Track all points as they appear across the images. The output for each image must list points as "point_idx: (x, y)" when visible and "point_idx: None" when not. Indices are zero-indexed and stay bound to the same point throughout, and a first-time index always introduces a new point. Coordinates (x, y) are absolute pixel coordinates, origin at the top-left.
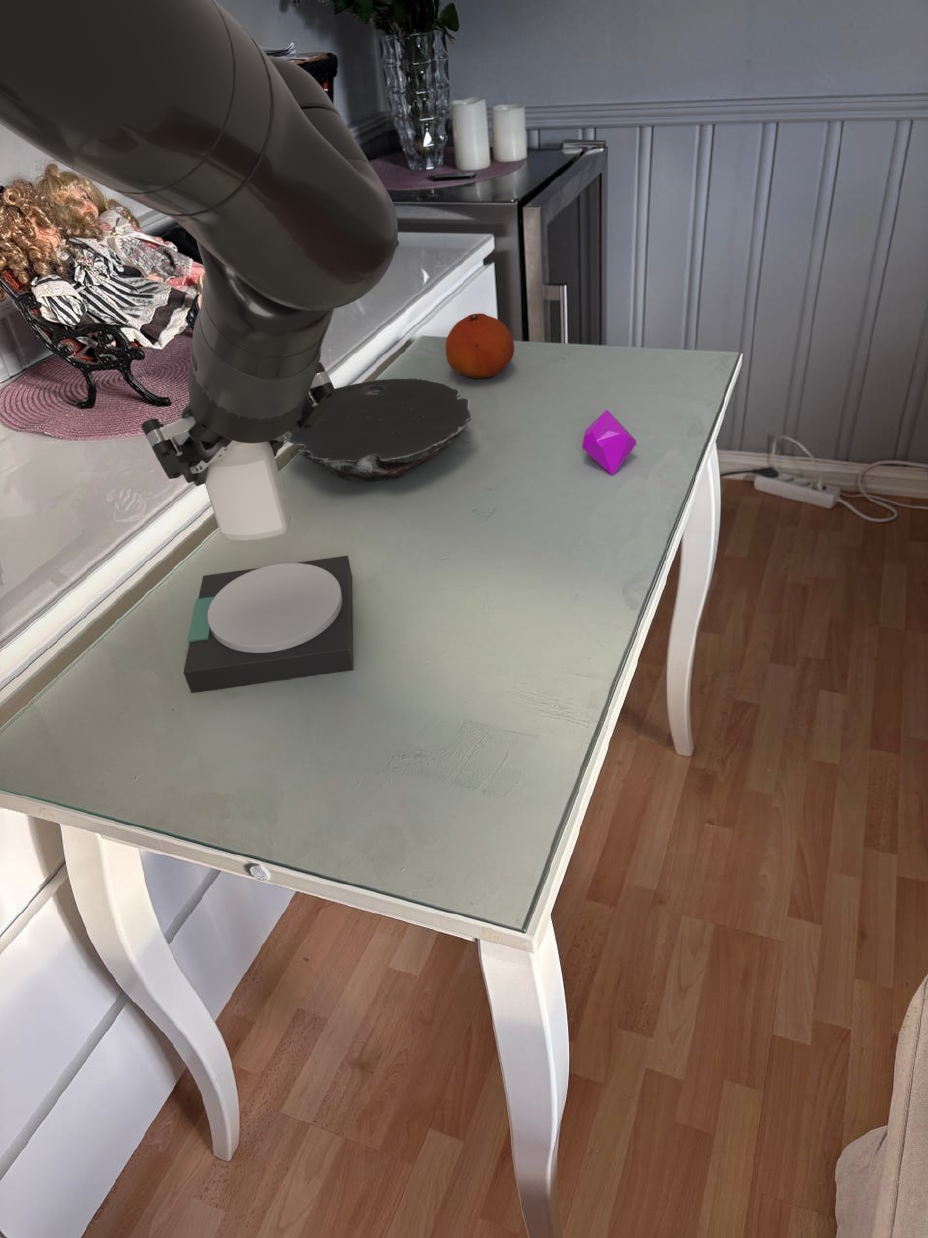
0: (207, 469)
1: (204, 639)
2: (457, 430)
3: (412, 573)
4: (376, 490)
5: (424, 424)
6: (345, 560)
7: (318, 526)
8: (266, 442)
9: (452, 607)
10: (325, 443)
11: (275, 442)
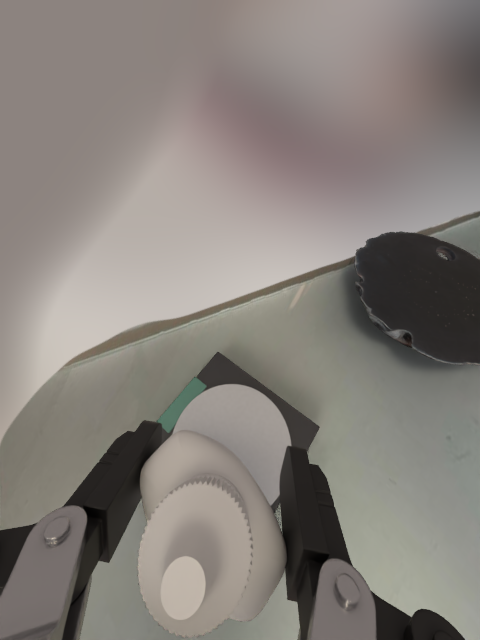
0: (114, 550)
1: (166, 431)
2: None
3: (356, 473)
4: (384, 343)
5: (469, 325)
6: (314, 432)
7: (324, 348)
8: (275, 582)
9: (363, 563)
10: (379, 289)
11: (294, 599)
